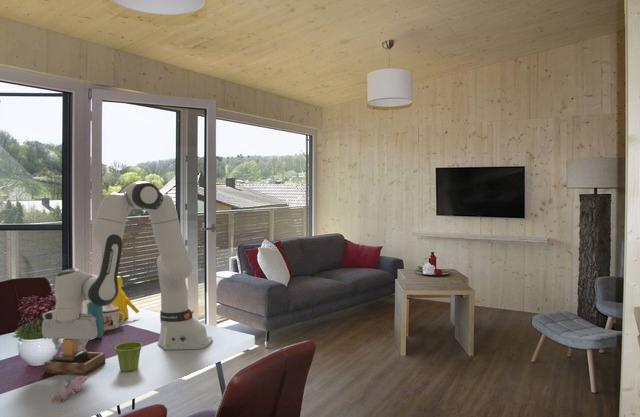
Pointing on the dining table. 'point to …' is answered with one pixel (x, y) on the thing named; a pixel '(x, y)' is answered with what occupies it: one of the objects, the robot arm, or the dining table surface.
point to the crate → (76, 365)
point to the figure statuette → (122, 301)
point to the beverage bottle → (96, 316)
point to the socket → (71, 357)
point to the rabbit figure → (70, 388)
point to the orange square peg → (70, 347)
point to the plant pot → (128, 355)
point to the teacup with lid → (111, 317)
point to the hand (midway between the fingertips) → (70, 350)
